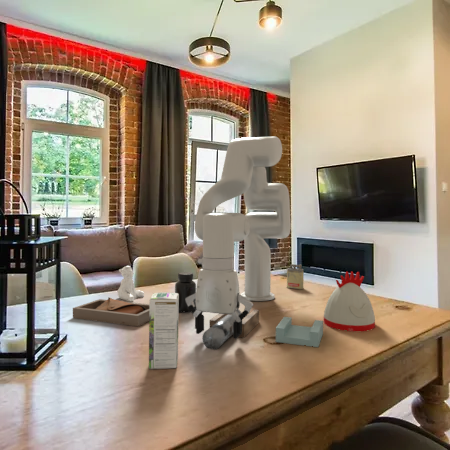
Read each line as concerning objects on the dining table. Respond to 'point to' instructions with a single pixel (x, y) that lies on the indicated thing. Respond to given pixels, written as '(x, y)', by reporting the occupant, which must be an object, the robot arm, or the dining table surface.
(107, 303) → the sunglasses case
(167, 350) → the syrup box
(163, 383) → the dining table surface
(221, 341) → the grey cylinder
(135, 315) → the valet tray rim
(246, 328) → the wooden blocks
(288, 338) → the cradle
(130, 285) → the white creature statuette
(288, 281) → the jerry can
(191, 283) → the supplement bottle
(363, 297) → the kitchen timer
